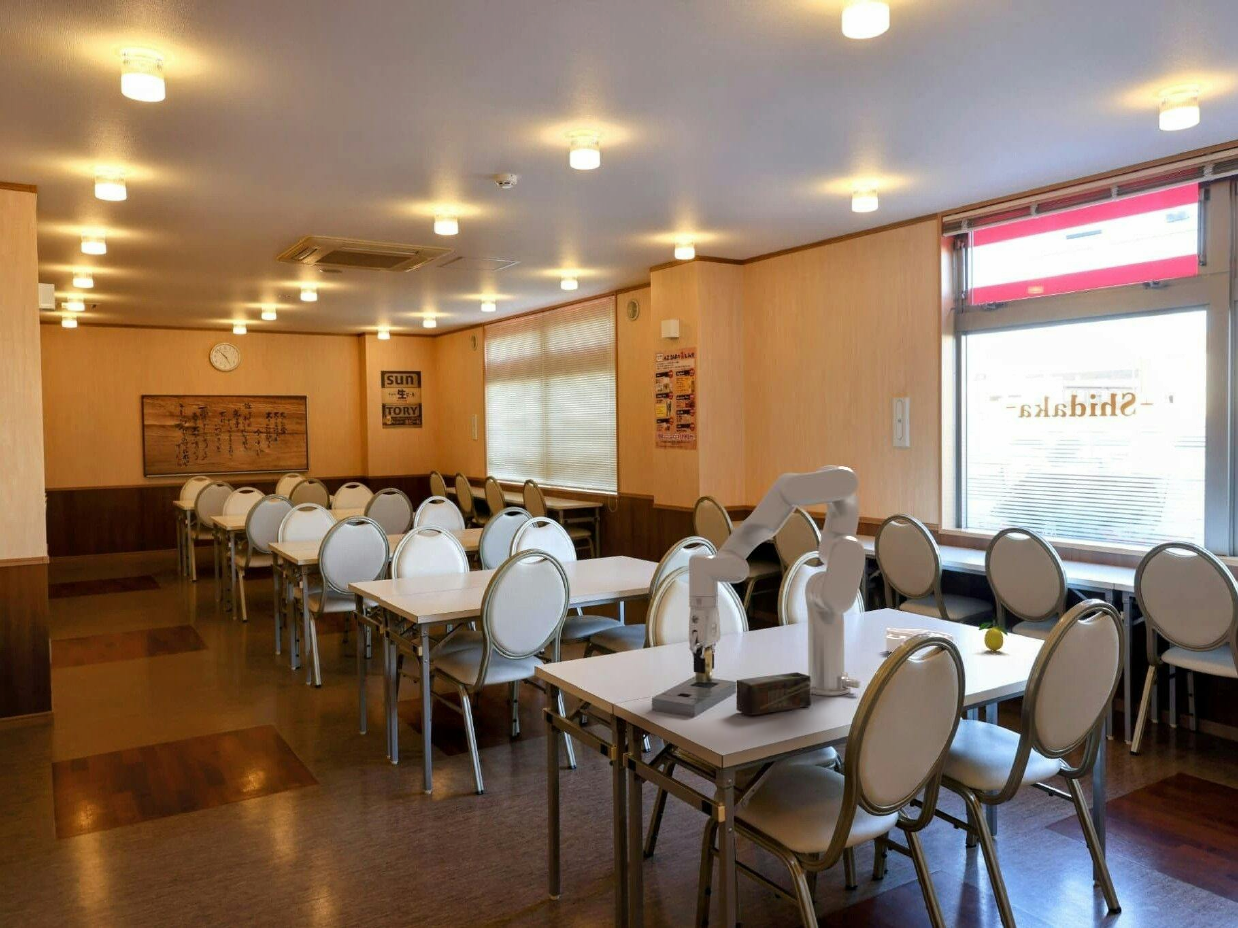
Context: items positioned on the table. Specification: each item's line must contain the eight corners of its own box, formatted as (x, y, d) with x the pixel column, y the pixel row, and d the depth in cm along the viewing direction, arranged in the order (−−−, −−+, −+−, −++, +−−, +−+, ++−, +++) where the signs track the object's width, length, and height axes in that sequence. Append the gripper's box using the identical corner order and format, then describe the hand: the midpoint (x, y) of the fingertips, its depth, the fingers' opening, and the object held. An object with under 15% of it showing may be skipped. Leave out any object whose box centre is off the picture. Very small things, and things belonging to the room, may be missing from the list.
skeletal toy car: (878, 654, 283) (878, 630, 283) (896, 648, 291) (896, 625, 291) (939, 665, 269) (938, 640, 269) (956, 658, 276) (956, 634, 276)
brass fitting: (715, 679, 242) (714, 645, 241) (707, 682, 238) (707, 648, 237) (700, 676, 244) (699, 643, 244) (692, 680, 240) (692, 646, 240)
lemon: (978, 651, 284) (978, 619, 284) (987, 648, 288) (987, 616, 288) (999, 655, 279) (999, 622, 279) (1008, 652, 283) (1008, 620, 283)
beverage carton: (797, 702, 234) (813, 707, 228) (734, 711, 226) (749, 717, 220) (796, 671, 235) (813, 675, 229) (733, 679, 226) (748, 683, 220)
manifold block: (735, 692, 243) (735, 681, 243) (694, 717, 223) (694, 704, 223) (695, 686, 250) (695, 675, 249) (651, 709, 229) (651, 698, 229)
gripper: (701, 607, 231) (702, 679, 232) (730, 597, 245) (730, 665, 246) (675, 605, 235) (676, 675, 235) (705, 595, 249) (705, 661, 250)
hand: (703, 669), depth 241 cm, fingers closed on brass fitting, 4 cm apart
